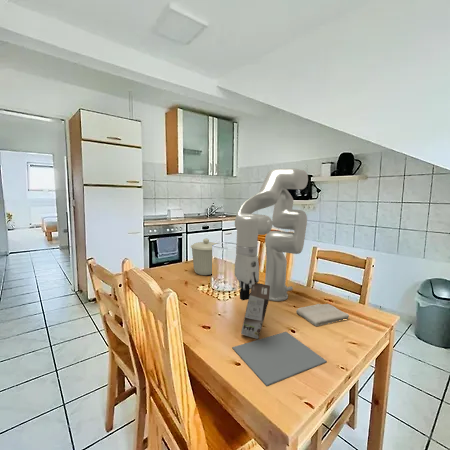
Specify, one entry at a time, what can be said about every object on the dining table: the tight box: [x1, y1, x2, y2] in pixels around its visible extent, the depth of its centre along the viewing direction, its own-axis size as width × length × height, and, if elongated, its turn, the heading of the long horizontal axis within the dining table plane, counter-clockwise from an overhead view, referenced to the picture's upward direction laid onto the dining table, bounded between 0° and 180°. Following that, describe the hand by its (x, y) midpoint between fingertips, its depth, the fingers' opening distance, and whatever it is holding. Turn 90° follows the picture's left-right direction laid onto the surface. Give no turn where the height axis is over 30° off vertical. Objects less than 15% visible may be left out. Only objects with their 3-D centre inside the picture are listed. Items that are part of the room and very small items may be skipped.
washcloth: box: [295, 303, 350, 327], centre depth 106 cm, size 12×18×3 cm, turn 113°
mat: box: [232, 331, 327, 387], centre depth 80 cm, size 22×18×1 cm
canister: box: [190, 238, 218, 276], centre depth 157 cm, size 18×18×21 cm
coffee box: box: [240, 282, 270, 340], centre depth 90 cm, size 9×6×16 cm
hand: (244, 299), depth 96 cm, fingers closed
